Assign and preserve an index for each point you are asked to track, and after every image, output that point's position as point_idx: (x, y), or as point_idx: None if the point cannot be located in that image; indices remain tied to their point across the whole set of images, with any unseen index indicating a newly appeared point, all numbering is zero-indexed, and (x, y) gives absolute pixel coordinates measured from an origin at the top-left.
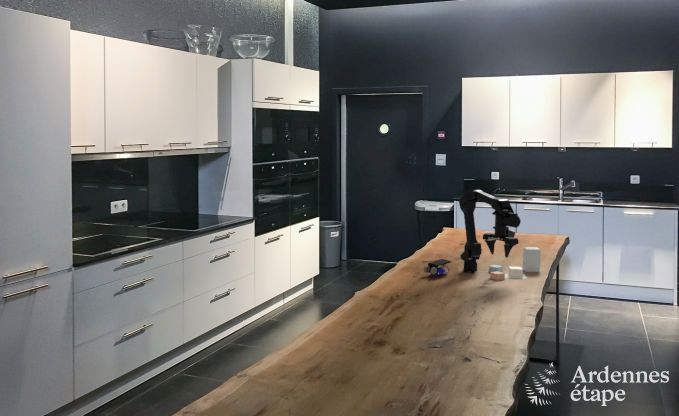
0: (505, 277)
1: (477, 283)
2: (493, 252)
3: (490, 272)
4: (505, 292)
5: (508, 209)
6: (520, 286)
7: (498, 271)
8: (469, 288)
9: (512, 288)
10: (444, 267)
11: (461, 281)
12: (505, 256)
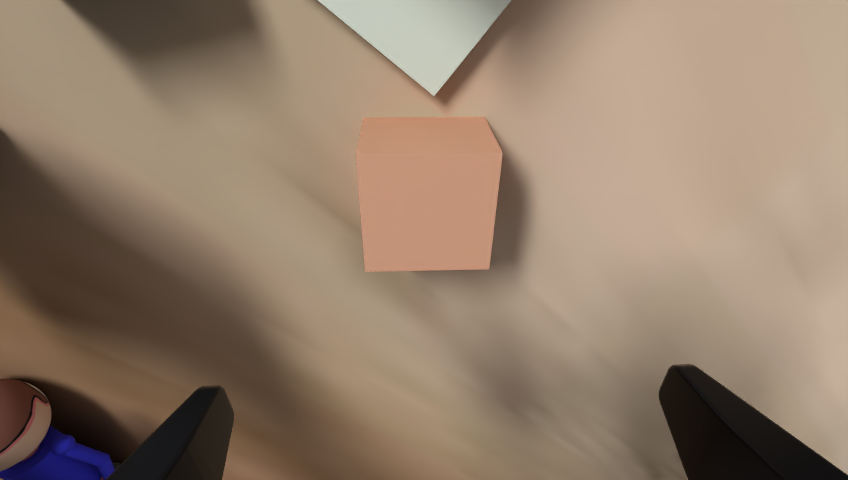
0: (433, 44)
1: (419, 370)
2: (204, 429)
3: (370, 270)
4: (715, 369)
5: None
6: (744, 155)
7: (380, 157)
8: (489, 459)
9: (709, 266)
10: (15, 461)
11: (314, 414)
12: (675, 428)
